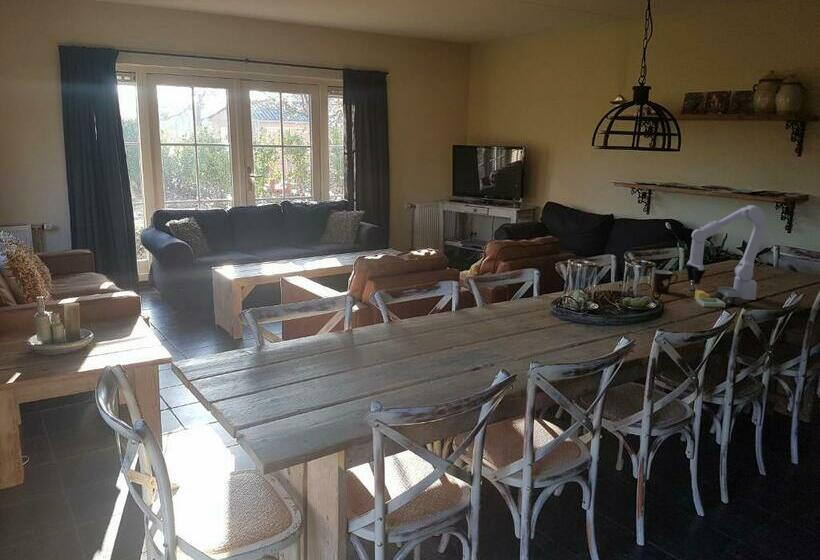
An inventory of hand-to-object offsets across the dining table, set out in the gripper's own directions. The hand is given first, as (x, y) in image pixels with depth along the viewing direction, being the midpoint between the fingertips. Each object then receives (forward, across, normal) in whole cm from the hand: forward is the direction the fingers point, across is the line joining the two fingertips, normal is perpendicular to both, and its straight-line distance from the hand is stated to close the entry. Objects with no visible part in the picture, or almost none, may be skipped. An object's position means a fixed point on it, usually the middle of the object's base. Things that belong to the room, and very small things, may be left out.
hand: (693, 281), depth 317 cm
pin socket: (+6, 0, 0) cm, 6 cm away
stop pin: (+6, 0, 0) cm, 6 cm away
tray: (+6, +19, +1) cm, 20 cm away
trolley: (+6, +14, +11) cm, 19 cm away
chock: (+7, +10, +1) cm, 12 cm away
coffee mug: (+7, -4, -12) cm, 14 cm away
